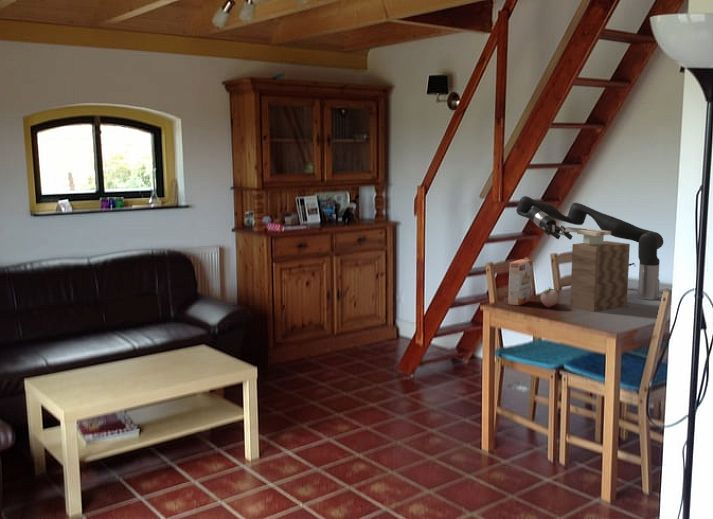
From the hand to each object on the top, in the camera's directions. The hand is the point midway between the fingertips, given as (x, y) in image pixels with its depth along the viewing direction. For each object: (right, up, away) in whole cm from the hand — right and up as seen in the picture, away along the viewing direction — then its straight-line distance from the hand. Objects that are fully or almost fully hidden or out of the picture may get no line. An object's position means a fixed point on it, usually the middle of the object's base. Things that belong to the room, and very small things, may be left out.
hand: (565, 237), depth 356 cm
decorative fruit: (-11, -34, -12) cm, 37 cm away
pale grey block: (+8, -4, -17) cm, 19 cm away
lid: (+5, +2, -13) cm, 14 cm away
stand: (+13, -33, -9) cm, 37 cm away
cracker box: (-23, -32, -1) cm, 39 cm away
